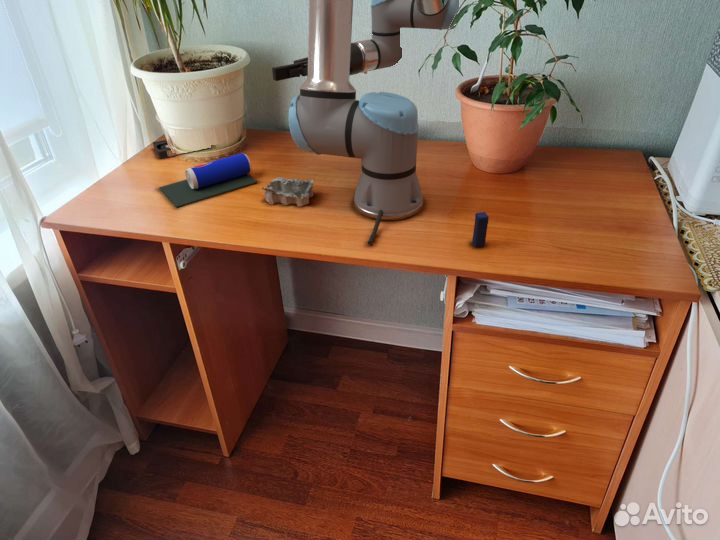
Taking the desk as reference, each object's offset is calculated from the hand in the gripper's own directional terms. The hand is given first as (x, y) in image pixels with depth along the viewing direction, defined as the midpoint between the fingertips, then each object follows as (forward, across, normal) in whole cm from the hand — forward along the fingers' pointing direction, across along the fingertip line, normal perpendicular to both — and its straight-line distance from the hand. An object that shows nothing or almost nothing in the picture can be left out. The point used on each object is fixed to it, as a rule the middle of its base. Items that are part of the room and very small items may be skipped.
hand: (274, 74), depth 123 cm
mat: (+21, 0, -23) cm, 31 cm away
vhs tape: (+17, +27, -23) cm, 39 cm away
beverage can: (+10, 0, -20) cm, 22 cm away
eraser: (-11, -58, -23) cm, 63 cm away
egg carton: (+8, -18, -23) cm, 30 cm away
